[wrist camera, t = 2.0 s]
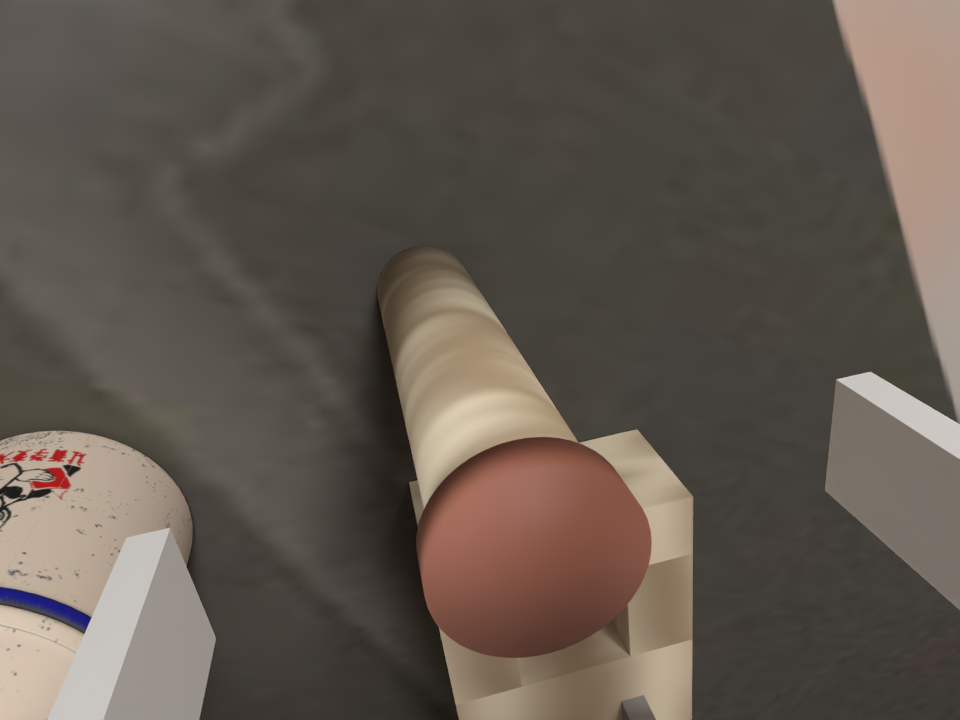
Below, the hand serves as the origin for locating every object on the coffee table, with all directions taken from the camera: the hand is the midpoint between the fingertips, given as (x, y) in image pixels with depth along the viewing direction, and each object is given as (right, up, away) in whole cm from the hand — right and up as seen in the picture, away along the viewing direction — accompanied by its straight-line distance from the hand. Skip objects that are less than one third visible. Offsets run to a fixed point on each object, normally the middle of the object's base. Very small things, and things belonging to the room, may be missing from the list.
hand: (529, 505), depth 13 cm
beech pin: (-3, +5, +12) cm, 13 cm away
